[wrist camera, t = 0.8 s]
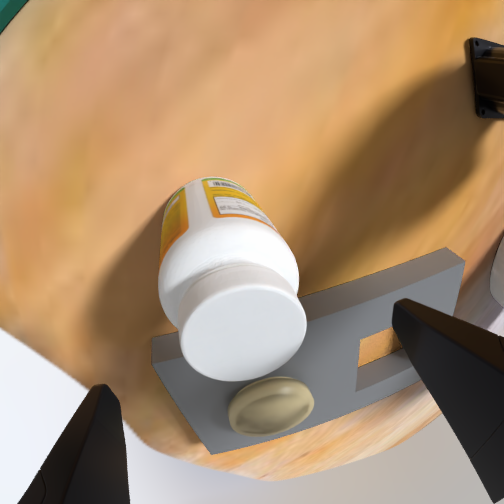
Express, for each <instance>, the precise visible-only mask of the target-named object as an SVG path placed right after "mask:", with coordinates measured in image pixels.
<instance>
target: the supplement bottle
mask: <svg viewBox="0 0 504 504" xmlns="http://www.w3.org/2000/svg"><path fill="white" fill-rule="evenodd" d="M298 287H299V272H298V267H297V263H296V260H295V257H294V255H293V253H292V251H291V250H290V248H289V246H288V245H287V243H286V242H285V240H284V239H283V238H282V236H281V235H280V234H279V232H278V231H277V230H276V228H275V227H274V225H273V224H272V223H271V221H270V220H269V219H268V217H267V216H266V214H265V213H264V212H263V210H262V209H261V208H260V206H259V205H258V204H257V202H256V201H255V200H254V198H253V197H252V196H251V195H250V194H249V193H248V191H247V190H245V189H244V188H243V187H242V186H241V185H239V184H238V183H236V182H234V181H232V180H229V179H226V178H222V177H203V178H199V179H196V180H193V181H191V182H189V183H187V184H186V185H184V186H183V187H181V188H180V189H179V190H178V191H177V192H176V193H175V194H174V195H173V196H172V198H171V199H170V201H169V202H168V204H167V206H166V209H165V212H164V216H163V221H162V233H161V245H160V259H159V273H158V289H159V298H160V302H161V305H162V308H163V310H164V312H165V314H166V316H167V317H168V319H169V320H170V321H171V323H172V324H173V325H174V326H175V327H176V328H177V329H178V332H179V341H180V347H181V351H182V353H183V356H184V358H185V359H186V361H187V362H188V363H189V365H190V366H191V367H192V368H194V369H195V370H196V371H197V372H199V373H201V374H202V375H204V376H207V377H210V378H213V379H216V380H221V381H244V380H250V379H255V378H258V377H261V376H264V375H266V374H268V373H270V372H272V371H274V370H276V369H278V368H279V367H281V366H282V365H284V364H285V363H286V362H287V361H288V360H289V359H290V358H291V357H292V356H293V355H294V354H295V353H296V352H297V350H298V349H299V347H300V346H301V344H302V342H303V339H304V337H305V333H306V327H307V322H306V315H305V311H304V309H303V307H302V305H301V303H300V301H299V299H298V297H297V292H298Z"/></svg>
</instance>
